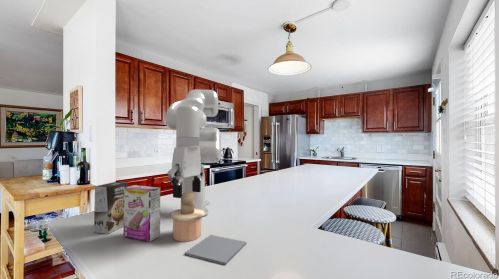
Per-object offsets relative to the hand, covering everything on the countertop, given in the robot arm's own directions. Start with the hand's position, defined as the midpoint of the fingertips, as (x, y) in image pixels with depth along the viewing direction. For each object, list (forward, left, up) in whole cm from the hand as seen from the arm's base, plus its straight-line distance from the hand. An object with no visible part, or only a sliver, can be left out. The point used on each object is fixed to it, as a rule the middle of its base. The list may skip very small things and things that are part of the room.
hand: (187, 194), depth 75 cm
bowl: (-1, 0, -14) cm, 14 cm away
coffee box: (+5, -29, -14) cm, 33 cm away
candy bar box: (+6, -13, -14) cm, 20 cm away
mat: (+3, +14, -14) cm, 20 cm away
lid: (-1, 0, -7) cm, 7 cm away
